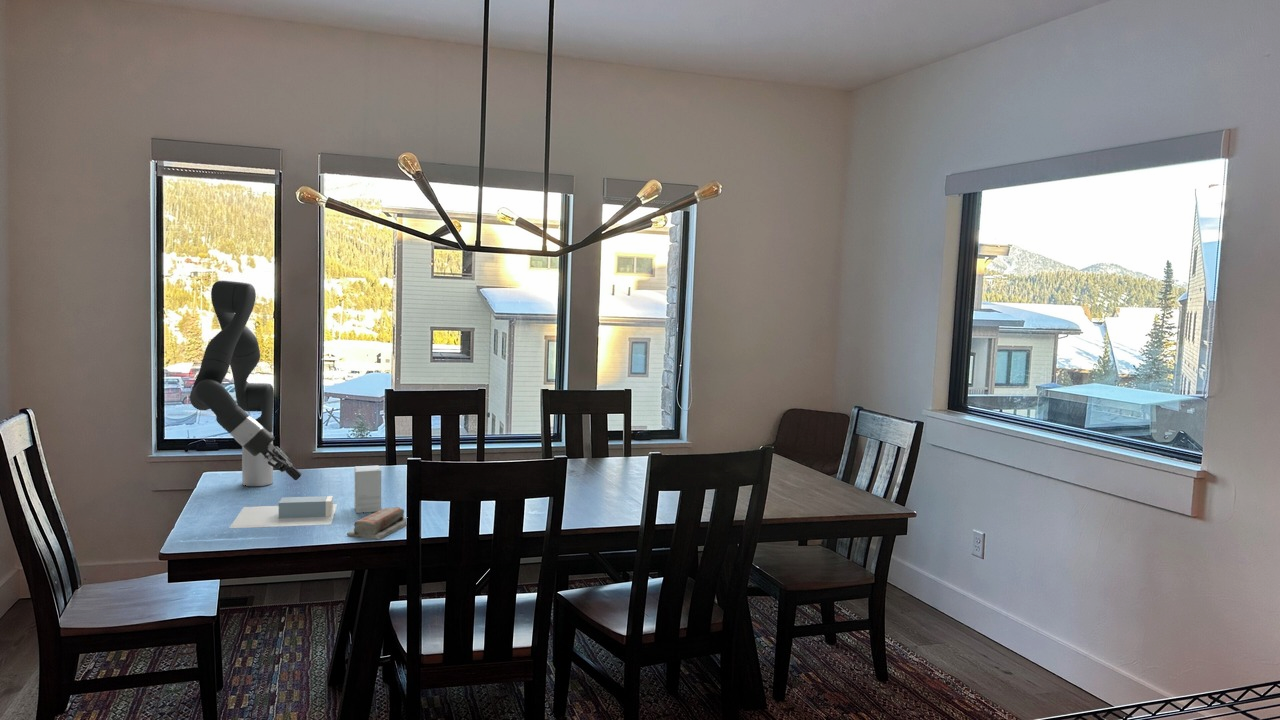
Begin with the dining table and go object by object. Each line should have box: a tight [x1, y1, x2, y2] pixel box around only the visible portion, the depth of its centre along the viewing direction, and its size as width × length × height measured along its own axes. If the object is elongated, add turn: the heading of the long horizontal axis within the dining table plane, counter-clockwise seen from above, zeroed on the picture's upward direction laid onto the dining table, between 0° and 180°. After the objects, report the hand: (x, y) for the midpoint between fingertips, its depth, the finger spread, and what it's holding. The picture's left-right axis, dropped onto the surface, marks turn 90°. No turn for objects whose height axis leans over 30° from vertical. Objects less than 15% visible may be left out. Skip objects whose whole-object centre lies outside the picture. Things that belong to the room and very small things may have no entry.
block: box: [278, 495, 334, 519], centre depth 243 cm, size 6×4×14 cm
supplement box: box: [354, 464, 382, 514], centre depth 252 cm, size 7×7×13 cm
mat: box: [228, 503, 338, 529], centre depth 241 cm, size 22×26×1 cm
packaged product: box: [346, 506, 407, 540], centre depth 233 cm, size 18×5×10 cm
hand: (298, 477), depth 241 cm, fingers closed
